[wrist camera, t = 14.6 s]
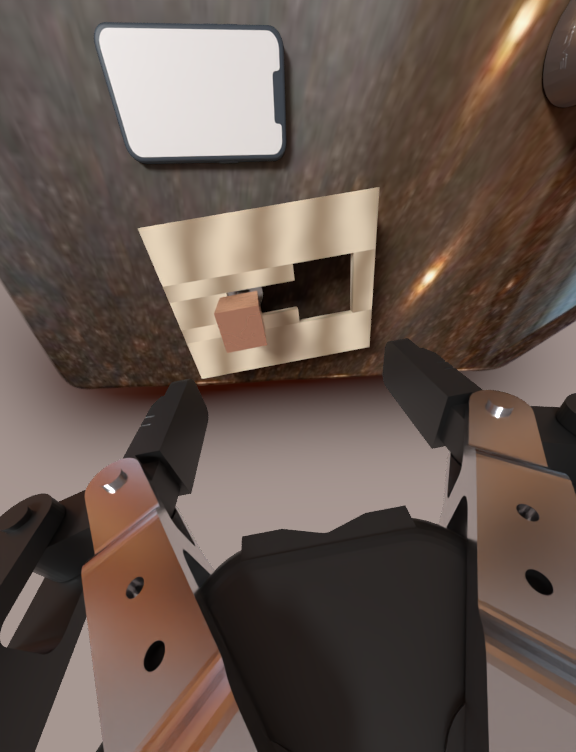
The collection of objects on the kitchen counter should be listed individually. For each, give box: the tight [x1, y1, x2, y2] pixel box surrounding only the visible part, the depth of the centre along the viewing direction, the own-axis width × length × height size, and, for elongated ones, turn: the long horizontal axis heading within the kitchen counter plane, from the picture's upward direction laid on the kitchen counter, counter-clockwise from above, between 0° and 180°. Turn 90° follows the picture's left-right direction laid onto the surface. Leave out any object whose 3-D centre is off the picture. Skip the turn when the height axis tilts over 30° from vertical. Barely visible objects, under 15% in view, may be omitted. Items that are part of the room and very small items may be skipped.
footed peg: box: [214, 286, 267, 353], centre depth 28 cm, size 5×5×14 cm
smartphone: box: [94, 22, 286, 164], centre depth 23 cm, size 9×2×16 cm
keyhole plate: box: [138, 187, 379, 379], centre depth 31 cm, size 24×18×6 cm
